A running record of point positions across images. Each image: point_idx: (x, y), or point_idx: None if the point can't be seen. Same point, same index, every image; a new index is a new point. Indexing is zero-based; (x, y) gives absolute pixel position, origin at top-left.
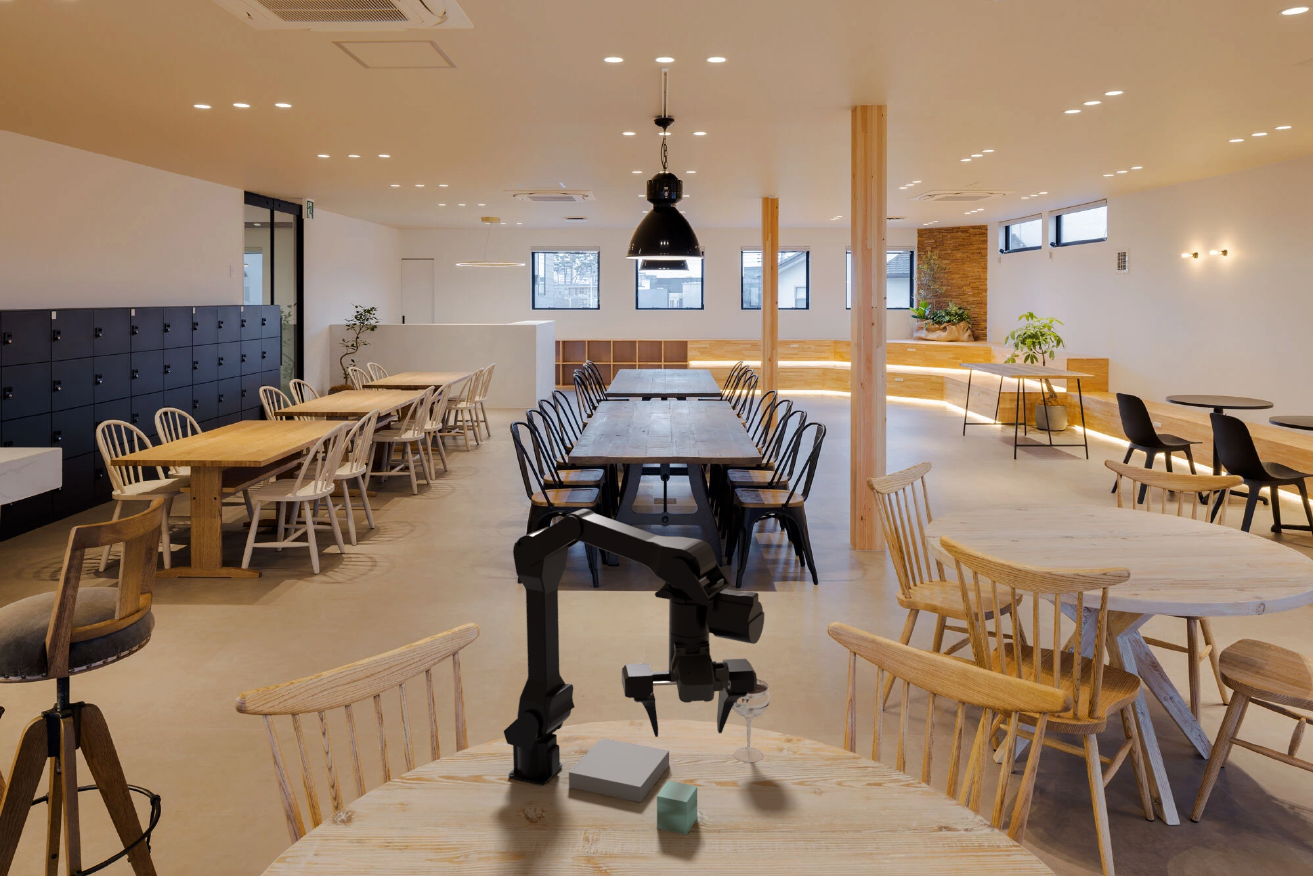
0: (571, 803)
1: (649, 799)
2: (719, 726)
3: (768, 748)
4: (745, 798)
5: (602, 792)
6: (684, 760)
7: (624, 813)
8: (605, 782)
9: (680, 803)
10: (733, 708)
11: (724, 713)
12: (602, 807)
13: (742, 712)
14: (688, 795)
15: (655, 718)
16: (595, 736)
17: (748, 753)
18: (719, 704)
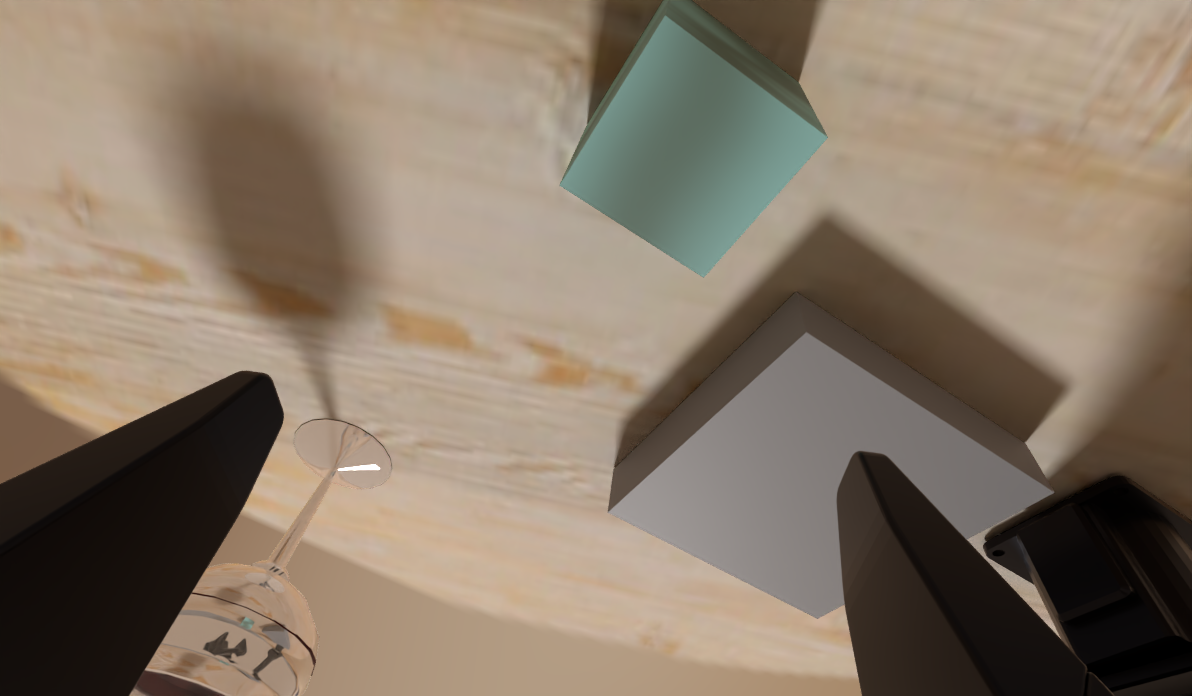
0: (1080, 351)
1: (750, 304)
2: (211, 412)
3: (279, 468)
4: (362, 222)
5: (925, 380)
6: (556, 478)
7: (896, 234)
8: (929, 405)
9: (700, 38)
10: (302, 619)
11: (17, 514)
12: (968, 296)
13: (263, 591)
14: (633, 96)
15: (989, 646)
16: (797, 630)
17: (337, 454)
18: (99, 655)
